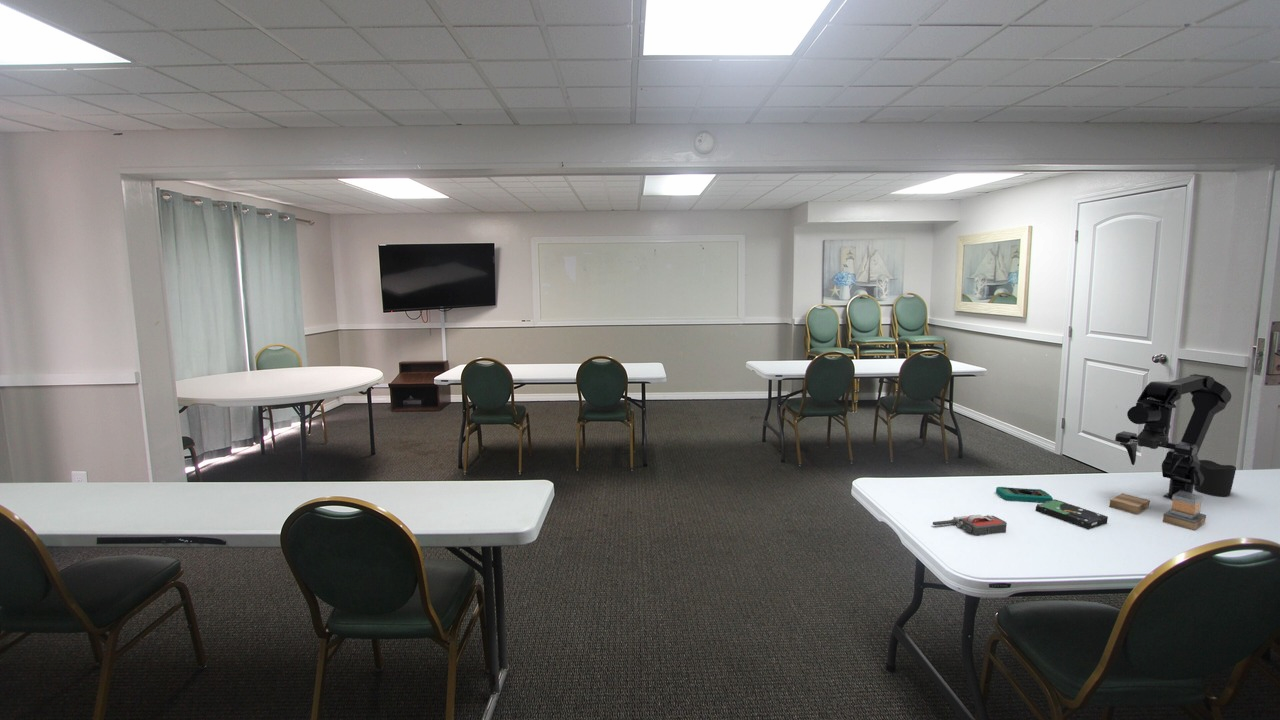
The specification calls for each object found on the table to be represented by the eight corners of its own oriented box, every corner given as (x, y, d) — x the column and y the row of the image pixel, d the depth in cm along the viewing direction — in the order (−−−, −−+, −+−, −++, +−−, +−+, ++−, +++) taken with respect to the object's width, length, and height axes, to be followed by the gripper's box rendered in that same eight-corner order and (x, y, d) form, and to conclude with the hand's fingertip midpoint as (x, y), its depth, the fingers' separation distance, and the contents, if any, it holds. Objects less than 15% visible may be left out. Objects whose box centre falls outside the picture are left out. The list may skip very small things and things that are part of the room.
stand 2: (1173, 514, 173) (1175, 506, 172) (1205, 522, 167) (1206, 514, 167) (1162, 521, 168) (1163, 513, 167) (1194, 530, 162) (1195, 522, 161)
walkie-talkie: (986, 520, 169) (930, 526, 165) (987, 506, 168) (931, 512, 164) (1011, 533, 161) (952, 539, 156) (1013, 518, 160) (953, 525, 156)
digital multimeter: (1054, 505, 181) (1055, 496, 180) (1004, 501, 183) (1005, 493, 183) (1042, 496, 188) (1043, 488, 188) (994, 493, 190) (995, 485, 190)
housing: (1177, 508, 171) (1180, 490, 170) (1199, 514, 167) (1202, 495, 166) (1169, 513, 167) (1172, 494, 166) (1192, 520, 163) (1195, 500, 162)
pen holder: (1217, 488, 195) (1222, 461, 193) (1239, 498, 186) (1244, 470, 184) (1185, 486, 197) (1189, 458, 195) (1205, 496, 188) (1210, 467, 186)
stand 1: (1121, 500, 184) (1122, 493, 183) (1148, 507, 178) (1149, 500, 177) (1109, 506, 178) (1110, 499, 178) (1137, 514, 173) (1138, 506, 172)
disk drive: (1107, 525, 167) (1053, 506, 180) (1108, 516, 166) (1054, 498, 179) (1088, 531, 162) (1034, 512, 175) (1089, 522, 162) (1035, 503, 175)
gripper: (1111, 418, 180) (1105, 464, 183) (1189, 432, 165) (1181, 482, 167) (1124, 414, 186) (1118, 459, 188) (1201, 427, 170) (1193, 475, 173)
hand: (1151, 468), depth 179 cm, fingers open, 9 cm apart
